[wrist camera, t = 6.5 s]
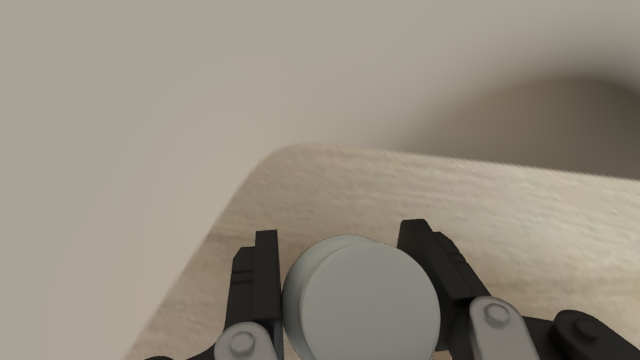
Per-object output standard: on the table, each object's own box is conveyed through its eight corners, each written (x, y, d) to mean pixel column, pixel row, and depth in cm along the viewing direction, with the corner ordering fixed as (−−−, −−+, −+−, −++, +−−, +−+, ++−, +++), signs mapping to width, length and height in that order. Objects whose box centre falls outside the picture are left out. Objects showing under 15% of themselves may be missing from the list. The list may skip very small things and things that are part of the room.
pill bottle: (328, 226, 16) (366, 187, 9) (396, 293, 16) (495, 311, 8) (261, 295, 15) (240, 317, 8) (331, 369, 15) (379, 469, 7)
